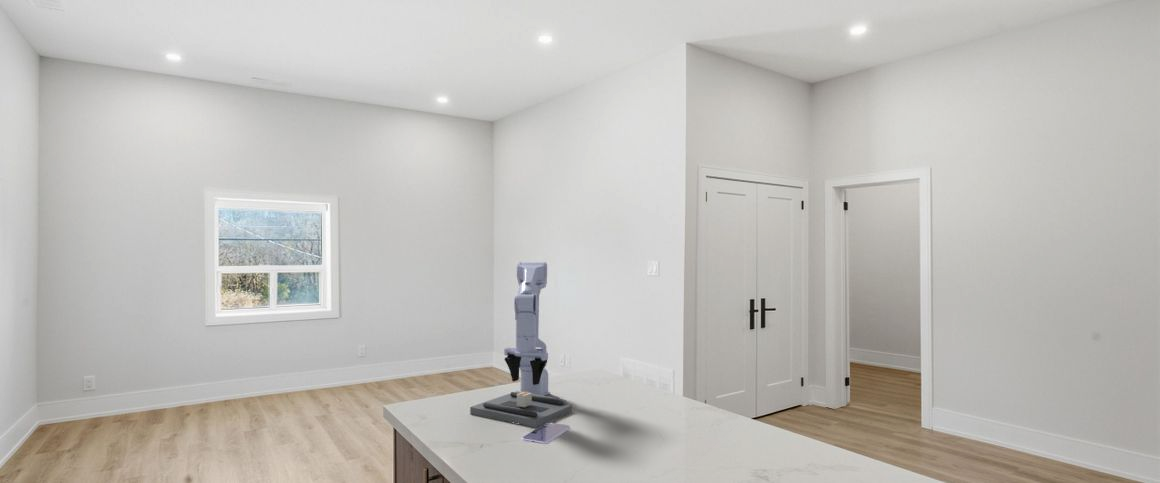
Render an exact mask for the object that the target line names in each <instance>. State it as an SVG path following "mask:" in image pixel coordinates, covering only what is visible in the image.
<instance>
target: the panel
mask: <svg viewBox="0 0 1160 483" xmlns="http://www.w3.org/2000/svg"><path fill="white" fill-rule="evenodd" d="M484 403H491V404H496V405H501V406H506V407H512V408H517V409H522V410H527V411H532V412H536V413H537V414H538V415H537V417H530V416H525V415H520V414H515V413H510V412H505V411H501V410H496V409H491V408H486V407H484V406H483V404H484ZM469 409H470V411H469V412H470V413H469V414H470V415H473V416H478V417H479V416H480V417H483V418H488V419H493V420H497V421H502V420H503V421H502V422H506V421H509V422H508V423H511V422H514V423H513V424H516V423H519V424H518V425H520V424H523V425H522V426H525V425H526V426H525V427H530V428H534V429H537V428H539V427H540V426H542V425H544V424H545V423H551V422H552V421H555V420H557V419H559V418H561V417H563V416H566V415H568V414H571V413H572V412H573V405H572V404H568V403H566V404H561V405H556V404H550V403H545V402H539V401H534V400H532V405H529V406H527V407H520V406H517V397H512V396H511V395H510V393H507V394H504V395H502V396H499V397H496V398H492V399H491V400H487V401H483V402H481V403H479V404H475V405H472V406H470V408H469Z"/></svg>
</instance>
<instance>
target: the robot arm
mask: <svg viewBox="0 0 1160 483" xmlns="http://www.w3.org/2000/svg"><path fill="white" fill-rule="evenodd" d="M516 279H517V282H518V286H519V287H518V292H517V295H515V296H514V299H513V300H514V304H513V309H514V316H515V317H514V320H515V347H506V348H504V356H506V357H504V361H505V363H506V365H507V367H508V369H509V372H510V376H511V380H512V382H517V381H519V379H520V392H529V393H532V394H536V395H542V396H548V395H550V394H551V391H549V372H548V369H546V367H547V364H548V360H549V353H548V350H547V345H546V343H545V342H544V341H543V340H542V339H540V338H539V327H540V326H539V324H540V323H539V322H540V321H539V317H540V309H539V308H540V294H541V290H542V289H545V288H546V287H547V284H548V264H547V262H546V261H544V262H521V261H519V262H518V263H517V265H516Z"/></svg>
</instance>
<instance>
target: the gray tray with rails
mask: <svg viewBox="0 0 1160 483" xmlns="http://www.w3.org/2000/svg"><path fill="white" fill-rule="evenodd" d="M519 393H522V392H521V391H518V390H517V391H511V392H510V393H509V394H510V395H511V396H512V397H517V394H519ZM532 400H534V401H539V402H545V403H550V404H556V405H561V404H567V400H566V399H563V398H559V397H553V396H548V395H545V396H542V395H536V394H532ZM483 403H484V402H483ZM483 406H484V407H486V408H491V409H496V410H501V411H505V412H510V413H515V414H520V415H525V416H530V417H537V415H538V414H537V413H536V412H532V411H527V410H522V409H517V408H512V407H506V406H501V405H496V404H491V403H484V404H483Z"/></svg>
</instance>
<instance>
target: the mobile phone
mask: <svg viewBox="0 0 1160 483" xmlns="http://www.w3.org/2000/svg"><path fill="white" fill-rule="evenodd" d="M570 429H571V426H570V425H568V424H562V423H561V424H560V423H557V422H555V423H554V422H548V423H545V424H544V425H541V426H539V427H537V428H534V430H532V431H530V432H529V433H527V434H526V435H524V436H522V438H521V439H522V441H523V442H530V443H536V444H542V445H544V444H549V443H550V442H552V441H553V440H555V439H556V438H558V437H559V436H560V435H562V434H564V433H565V432H567V431H568V430H570Z"/></svg>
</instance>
